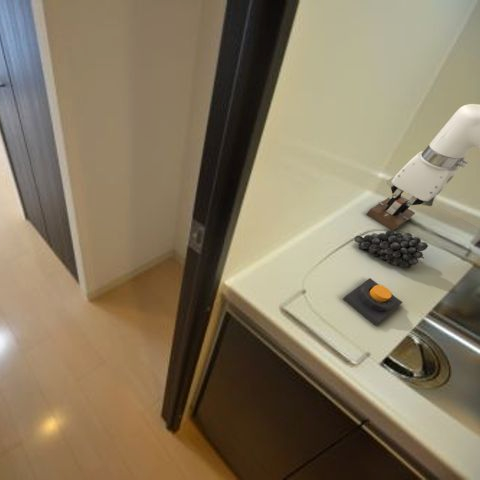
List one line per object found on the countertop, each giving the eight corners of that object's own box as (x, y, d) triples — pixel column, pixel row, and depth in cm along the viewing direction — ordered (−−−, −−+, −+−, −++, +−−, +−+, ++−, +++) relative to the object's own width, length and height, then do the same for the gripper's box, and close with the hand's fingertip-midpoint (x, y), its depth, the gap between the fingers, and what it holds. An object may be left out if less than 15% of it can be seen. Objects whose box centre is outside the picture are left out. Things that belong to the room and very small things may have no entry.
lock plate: (381, 204, 102) (387, 196, 99) (409, 220, 97) (417, 213, 95) (363, 215, 98) (369, 207, 96) (392, 233, 93) (399, 225, 91)
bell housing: (364, 283, 81) (374, 273, 78) (396, 307, 77) (408, 298, 74) (340, 300, 78) (350, 291, 75) (372, 327, 73) (384, 318, 70)
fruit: (367, 225, 82) (438, 248, 77) (363, 215, 88) (429, 235, 83) (349, 254, 86) (415, 277, 81) (347, 242, 93) (408, 262, 88)
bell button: (374, 286, 76) (379, 282, 75) (389, 298, 74) (395, 293, 73) (366, 293, 75) (370, 289, 74) (381, 305, 73) (386, 300, 71)
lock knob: (393, 206, 97) (403, 195, 93) (400, 209, 96) (410, 198, 92) (385, 211, 95) (395, 200, 92) (392, 215, 94) (401, 204, 91)
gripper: (484, 168, 78) (428, 222, 92) (415, 137, 87) (374, 191, 101) (470, 177, 76) (415, 231, 89) (401, 145, 84) (360, 199, 98)
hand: (393, 210), depth 95 cm, fingers closed on lock knob, 2 cm apart
